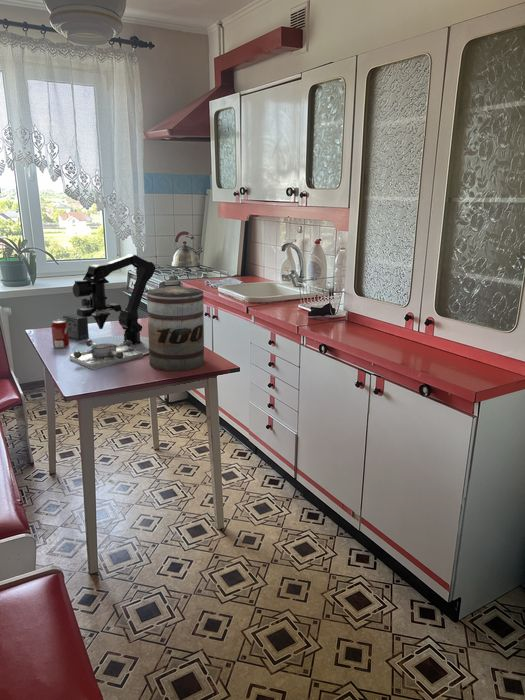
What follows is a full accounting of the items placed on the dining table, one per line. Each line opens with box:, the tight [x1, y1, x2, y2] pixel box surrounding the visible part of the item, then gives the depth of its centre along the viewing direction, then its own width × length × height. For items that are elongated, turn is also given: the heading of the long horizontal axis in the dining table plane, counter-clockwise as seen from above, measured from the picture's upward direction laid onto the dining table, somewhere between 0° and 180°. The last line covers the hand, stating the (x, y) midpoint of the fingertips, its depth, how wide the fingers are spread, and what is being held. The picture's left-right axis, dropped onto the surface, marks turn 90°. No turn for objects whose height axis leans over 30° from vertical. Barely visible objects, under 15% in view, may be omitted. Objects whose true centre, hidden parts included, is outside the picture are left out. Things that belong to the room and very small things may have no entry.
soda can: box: [50, 319, 70, 349], centre depth 236 cm, size 7×7×12 cm
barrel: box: [146, 286, 205, 373], centre depth 216 cm, size 22×22×30 cm
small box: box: [62, 313, 90, 341], centre depth 252 cm, size 11×6×10 cm, turn 58°
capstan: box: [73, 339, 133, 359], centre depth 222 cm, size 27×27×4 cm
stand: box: [68, 343, 144, 370], centre depth 224 cm, size 24×18×2 cm
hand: (100, 329), depth 233 cm, fingers closed
